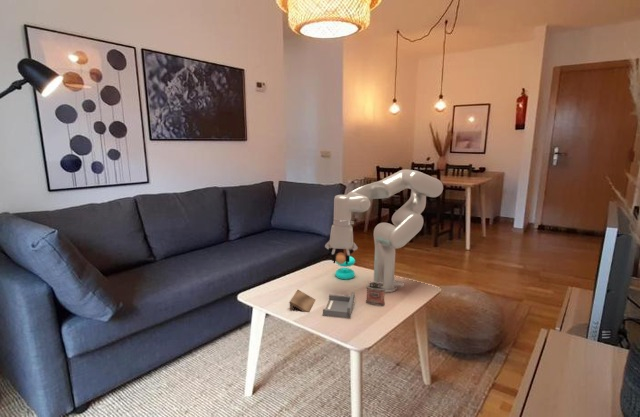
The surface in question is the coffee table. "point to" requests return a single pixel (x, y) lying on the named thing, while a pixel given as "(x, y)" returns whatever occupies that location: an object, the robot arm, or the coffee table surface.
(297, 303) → the ramp
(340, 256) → the ball
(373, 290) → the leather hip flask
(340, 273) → the donuts
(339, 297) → the box
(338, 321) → the coffee table surface
